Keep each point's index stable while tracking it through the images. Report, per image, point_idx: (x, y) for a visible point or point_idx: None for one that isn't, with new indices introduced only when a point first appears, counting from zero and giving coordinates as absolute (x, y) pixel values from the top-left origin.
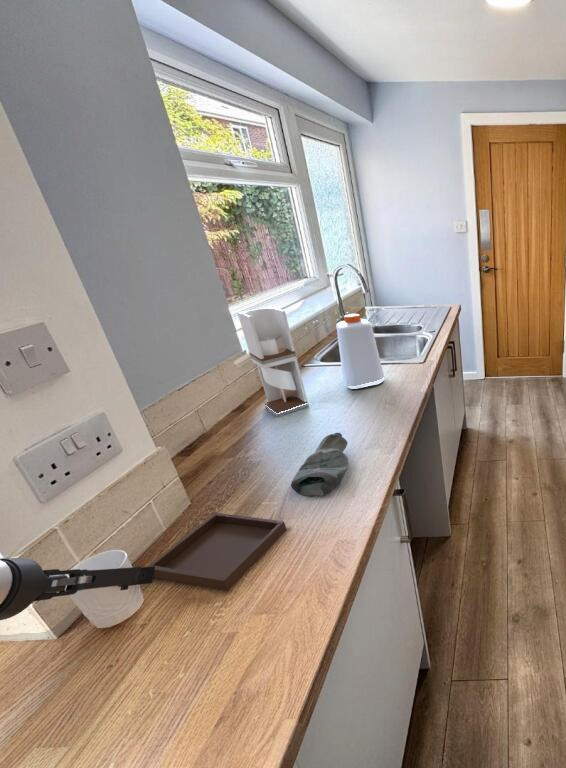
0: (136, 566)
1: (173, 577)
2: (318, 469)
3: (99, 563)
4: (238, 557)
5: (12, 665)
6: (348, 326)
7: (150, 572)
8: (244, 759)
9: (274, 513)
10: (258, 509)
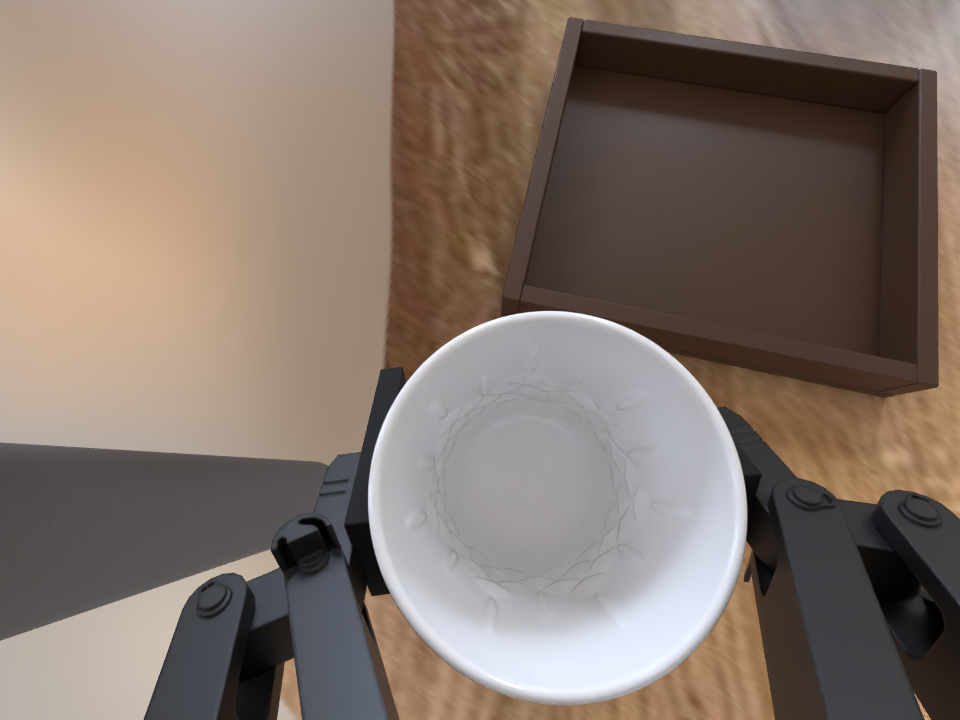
0: (940, 517)
1: None
2: None
3: (453, 380)
4: (811, 241)
5: (288, 691)
6: None
7: None
8: None
9: (766, 29)
10: (680, 8)
